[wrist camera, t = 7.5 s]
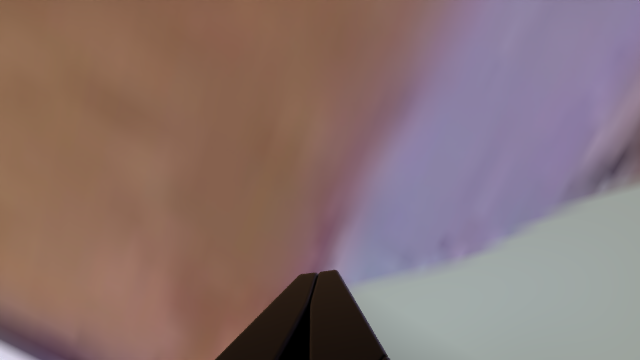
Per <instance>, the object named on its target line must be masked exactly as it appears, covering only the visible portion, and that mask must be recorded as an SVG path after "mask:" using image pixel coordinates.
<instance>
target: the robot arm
mask: <svg viewBox="0 0 640 360" xmlns="http://www.w3.org/2000/svg"><path fill="white" fill-rule="evenodd" d="M215 360H390V359H389V358H388V356H387V354H386V352H385V350H384V349H383V347H382V345H381V344H380V342H379V340H378V339H377V337H376V335H375V334H374V332H373V330H372V328H371V327H370V325H369V323H368V322H367V320H366V318H365V316H364V315H363V313H362V311H361V310H360V308H359V306H358V305H357V303H356V301H355V300H354V298H353V296H352V294H351V293H350V291H349V289H348V288H347V286H346V284H345V282H344V281H343V279H342V277H341V276H340V274H339V272H338V271H337V270H330V271H323V272H320V273H319V274H318V273H308V274H301V275H299V276H298V277H297V278H296V279H295V280H294V281H293V282H292V283H291V284H290V285H289V286H288V287H287V288H286V289H285V290H284V291H283V292H282V293H281V294H280V295H279V296H278V297H277V298H276V299H275V300H274V301H273V302H272V303H271V304H270V305H269V306H268V307H267V308H266V309H265V310H264V311H263V312H262V313H261V314H260V315H259V316H258V317H257V318H256V319H255V320H254V321H253V322H252V323H251V324H250V325H249V326H248V327H247V328H246V329H245V330H244V331H243V332H242V333H241V334H240V335H239V336H238V337H237V338H236V339H235V340H234V341H233V342H232V343H231V344H230V345H229V346H228V347H227V348H226V349H225V350H224V351H223V352H222V353H221V354H220V355H219V356H218V357H217V358H216V359H215Z"/></svg>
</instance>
